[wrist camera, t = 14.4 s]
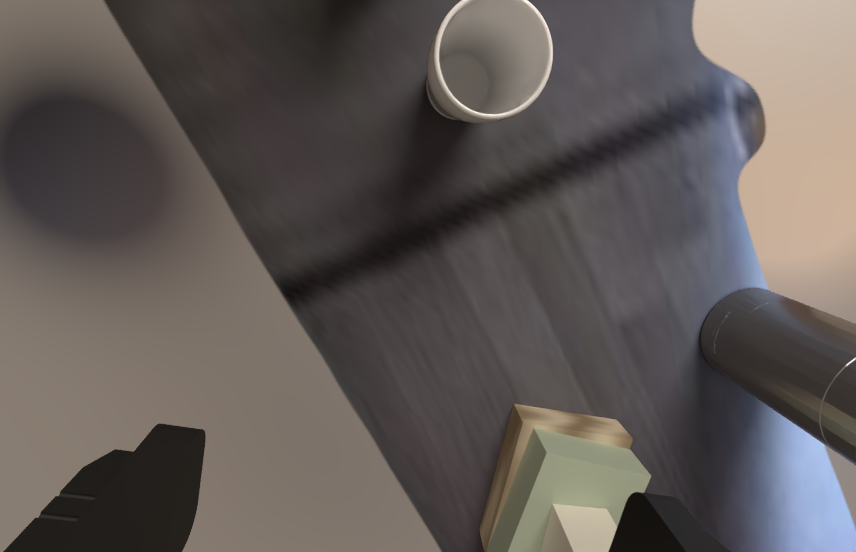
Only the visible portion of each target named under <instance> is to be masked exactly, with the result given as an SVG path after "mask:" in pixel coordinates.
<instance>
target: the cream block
mask: <svg viewBox="0 0 856 552" xmlns="http://www.w3.org/2000/svg"><path fill="white" fill-rule="evenodd" d="M616 529H617V526H616V524H615V522H614V521H613V519H612V517H611V515H610V514H609V512H608V510H607V509H603V508H593V507H583V506H572V505H562V504H552V508H551V512H550V516H549V520H548V524H547V527H546V531H545V535H544V539H543V543H542V547H541V552H609V549H610V546H611V543H612V541H613V538H614V535H615V532H616Z"/></svg>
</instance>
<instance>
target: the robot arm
mask: <svg viewBox="0 0 856 552" xmlns="http://www.w3.org/2000/svg"><path fill="white" fill-rule="evenodd" d="M701 348H702V352H703V355H704V357H705V359H706V360H707V362H708V363H709V364H710V365H711V366H712V367H713V368H714V369H716V370H717V371H719V372H720V373H721V374H723V375H724V376H726V377H727V378H729V379H730V380H732V381H733V382H735V383H736V384H737V385H739V386H740V387H741V388H743V389H744V390H746V391H747V392H749V393H750V394H752V395H753V396H755V397H756V398H758V399H759V400H760V401H762V402H763V403H765V404H766V405H768V406H769V407H771V408H772V409H774V410H775V411H777V412H778V413H779V414H781V415H782V416H784V417H785V418H787V419H788V420H790V421H791V422H793V423H794V424H796V425H797V426H798V427H800V428H801V429H803V430H804V431H806V432H807V433H809V434H810V435H812V436H813V437H815V438H816V439H817V440H819V441H820V442H822V443H823V444H825V445H826V446H828V447H829V448H831V449H832V450H834V451H835V452H837V453H838V454H840V455H841V456H843V457H844V458H846V459H847V460H849V461H850V462H852V463H853V464H854V465H856V324H854V323H852V322H849V321H847V320H844V319H841V318H839V317H836V316H834V315H831V314H828V313H826V312H823V311H820V310H817V309H815V308H813V307H810V306H807V305H805V304H802V303H800V302H797V301H795V300H792V299H789V298H787V297H784V296H782V295H779V294H776V293H774V292H771V291H769V290H765V289H760V288H747V289H743V290H739V291H736V292H734V293H732V294H730V295H728V296H727V297H725V298H724V299H722V300H721V301H720V302H719V303H718V304H717V305H716V306H715V307H714V308H713V309H712V310H711V312H710V313H709V314H708V316H707V318H706V320H705V322H704V324H703V328H702V332H701ZM204 448H205V431H204V430H202V429H195V428H188V427H180V426H173V425H166V424H157V425H156V426H155V427H154V428H153V429H152V430H151V432H150V433H149V434H148V435H147V437H146V438H145V439H144V440H143V441H142V443H141V444H140V445H139V446H138V447H137V449H136V450H135V451H134V452H130V451H123V450H113V451H112V452H110V453H108V454H106V455H104V456H103V457H101V458H99V459H97V460H95V461H94V462H92V463H90V464H88V465H87V466H85V467H83V468H82V469H81V470H80V471H79V472H78V473H77V475H76V476H75V477H74V478H73V479H72V480H71V481H70V482H69V483H68V484H67V485H66V486H65V487H64V488H63V489H62V490H61V492H60V495H59V496H56V497H55V498H54V499H53V500H52V501H51V502H50V503H49V504H48V505H47V506H46V507H45V508H44V509H43V510H42V511H41V514H40V516H39V518H35V519H34V520H33V521H32V522H31V523H30V524H29V525H28V526H27V527H26V529H24V530H23V532H22V533H21V534H20V535H19V536H18V537H17V538H16V539H15V540H14V541H13V542H12V543H11V544H10V545H9V546H8V547H7V549H6V550H5V551H4V552H182V550H183V548H184V546H185V544H186V542H187V540H188V537H189V535H190V532H191V529H192V526H193V522H194V519H195V515H196V510H197V505H198V497H199V489H200V481H201V473H202V464H203V456H204ZM609 552H730V551H729V550H728V549H726V548H725V547H724V546H723V545H721V544H720V543H719V542H718V541H717V540H715V539H714V538H713V537H712V536H710V535H709V534H708V533H707V532H705V531H704V530H703V529H702V528H701V526H700V525H699V524H698V523H697V522H696V520H695V519H694V518H693V517H692V515H691V514H690V513H689V512H688V511H687V509H686V508H685V507H684V506H683V504H682V503H681V502H680V501H679V500H678V499H676V498H674V497H669V496H662V495H655V494H648V493H641V492H634V493H632V494H631V495H630V496H629V498H628V499H627V501H626V504H625V507H624V510H623V512H622V515H621V518H620V521H619V524H618V527H617V529H616V532H615V535H614V538H613V541H612V543H611V546H610V549H609Z"/></svg>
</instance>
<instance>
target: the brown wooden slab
mask: <svg viewBox="0 0 856 552" xmlns="http://www.w3.org/2000/svg"><path fill="white" fill-rule="evenodd" d="M533 428H539V429H543V430H547V431H552V432H556V433H560V434H565V435H569V436H573V437H578V438H582V439H586V440H591V441H595V442H599V443H604V444H608V445H612V446H617V447H621V448H625V449H630V446H631V443H632V440H633V439H632V437H631V436H630V435H629V434H628V433H627V431H626V430H625V429H624V428H623V427H622V425H621V424H620V423H619V422H618V421H617V420H614V419H608V418H601V417H595V416H589V415H582V414H576V413H569V412H563V411H557V410H550V409H544V408H537V407H531V406H524V405H518V404H514V405H513V409H512V413H511V416H510V420H509V423H508V427H507V431H506V434H505V438H504V442H503V445H502V449H501V452H500V456H499V460H498V463H497V467H496V471H495V474H494V478H493V482H492V485H491V489H490V492H489V496H488V500H487V503H486V507H485V511H484V514H483V518H482V522H481V525H480V529H479V532H480V536H481V540H482V544H483V548H484V552H487V548H488V546H489V543H490V540H491V538H492V535H493V532H494V530H495V527H496V525H497V522H498V519H499V517H500V514H501V511H502V509H503V506H504V504H505V501H506V498H507V496H508V493H509V491H510V488H511V485H512V483H513V480H514V477H515V475H516V472H517V470H518V467H519V464H520V462H521V459H522V457H523V454H524V451H525V449H526V446H527V443H528V441H529V438H530V436H531V433H532V430H533Z"/></svg>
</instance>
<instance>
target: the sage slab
mask: <svg viewBox="0 0 856 552" xmlns="http://www.w3.org/2000/svg"><path fill="white" fill-rule="evenodd" d="M650 478H651V475H650V474H649V473H648V471H647V470H646V469H645V468H644V466H643V465H642V464H641V463H640V461H639V460H638V459H637V457H636V456H635V455H634V454H633V452H632V451H631V450H630V449H625V448H621V447H617V446H612V445H608V444H604V443H599V442H595V441H591V440H586V439H582V438H578V437H573V436H569V435H565V434H560V433H556V432H552V431H547V430H543V429H539V428H533V430H532V433H531V436H530V438H529V441H528V443H527V446H526V449H525V451H524V454H523V457H522V459H521V462H520V464H519V467H518V470H517V472H516V475H515V477H514V480H513V483H512V485H511V488H510V491H509V493H508V496H507V498H506V501H505V504H504V506H503V509H502V511H501V514H500V517H499V519H498V522H497V525H496V527H495V530H494V532H493V535H492V538H491V540H490V543H489V546H488V548H487V552H541V547H542V543H543V539H544V535H545V531H546V527H547V524H548V520H549V516H550V512H551V508H552V504H562V505H572V506H583V507H593V508H603V509H607V510H608V512H609V514H610V515H611V517H612V519H613V521H614V522H615V524H616V526H617V527H618V524H619V521H620V518H621V515H622V512H623V510H624V507H625V504H626V501H627V499H628V498H629V496H630V495H631V494H632V493H634V492H641V493H644V492H645V489H646V487H647V485H648V483H649V480H650Z"/></svg>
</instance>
